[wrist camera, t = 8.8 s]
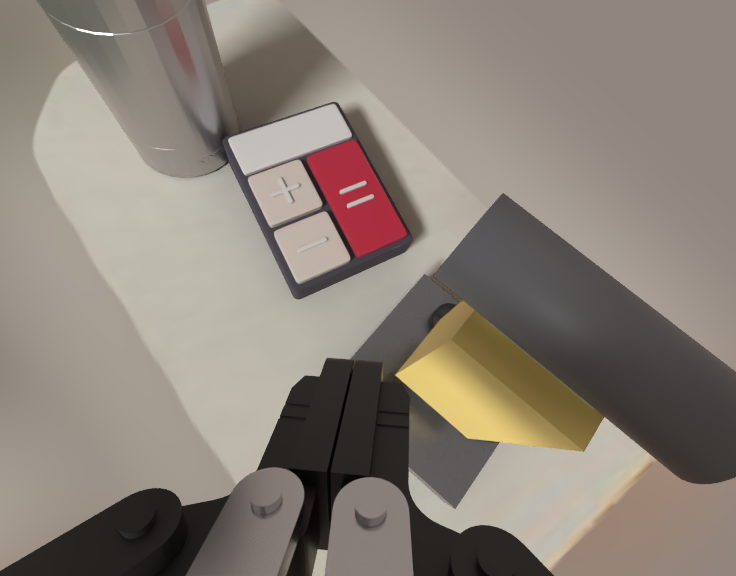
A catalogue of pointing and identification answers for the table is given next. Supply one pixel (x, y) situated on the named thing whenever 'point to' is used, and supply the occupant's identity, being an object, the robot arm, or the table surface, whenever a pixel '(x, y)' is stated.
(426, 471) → the base
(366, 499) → the robot arm
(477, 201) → the table surface
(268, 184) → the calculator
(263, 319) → the table surface
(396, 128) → the table surface
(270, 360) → the table surface
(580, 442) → the yellow toy mallet
